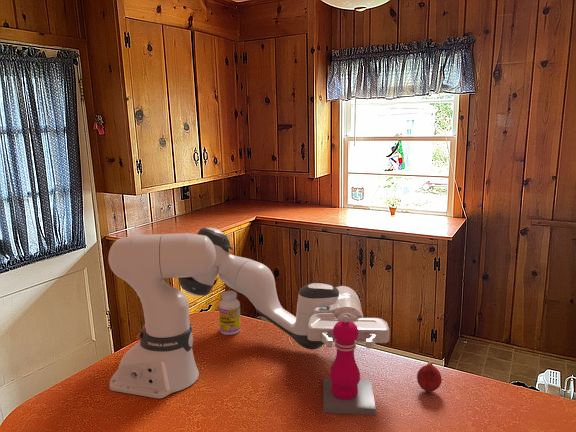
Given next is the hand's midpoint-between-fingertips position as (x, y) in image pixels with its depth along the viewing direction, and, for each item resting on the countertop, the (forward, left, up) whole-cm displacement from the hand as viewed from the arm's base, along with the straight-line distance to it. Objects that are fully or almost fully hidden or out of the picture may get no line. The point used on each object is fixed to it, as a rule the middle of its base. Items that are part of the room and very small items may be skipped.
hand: (349, 345), depth 108 cm
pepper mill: (-1, +1, -13) cm, 13 cm away
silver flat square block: (0, +1, -14) cm, 15 cm away
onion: (+20, +5, -15) cm, 25 cm away
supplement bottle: (-36, +35, -15) cm, 52 cm away
